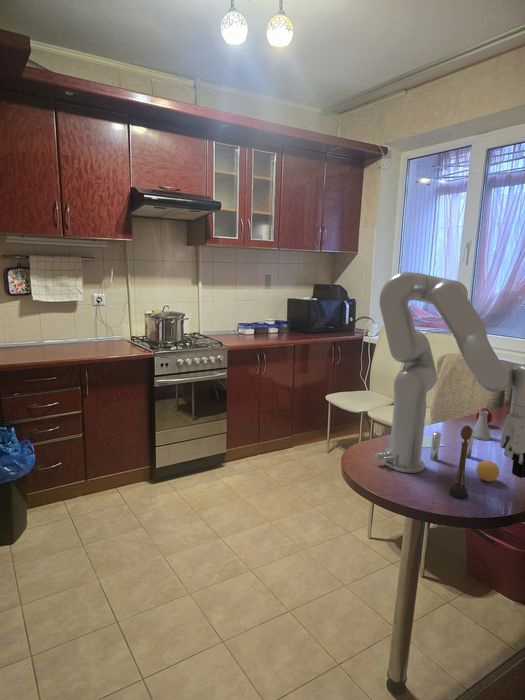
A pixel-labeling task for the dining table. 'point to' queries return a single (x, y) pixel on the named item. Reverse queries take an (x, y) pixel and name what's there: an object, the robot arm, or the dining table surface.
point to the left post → (435, 446)
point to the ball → (487, 470)
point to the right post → (470, 446)
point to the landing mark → (428, 442)
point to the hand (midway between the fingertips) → (518, 475)
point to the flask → (482, 427)
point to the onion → (489, 416)
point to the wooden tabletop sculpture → (461, 467)
